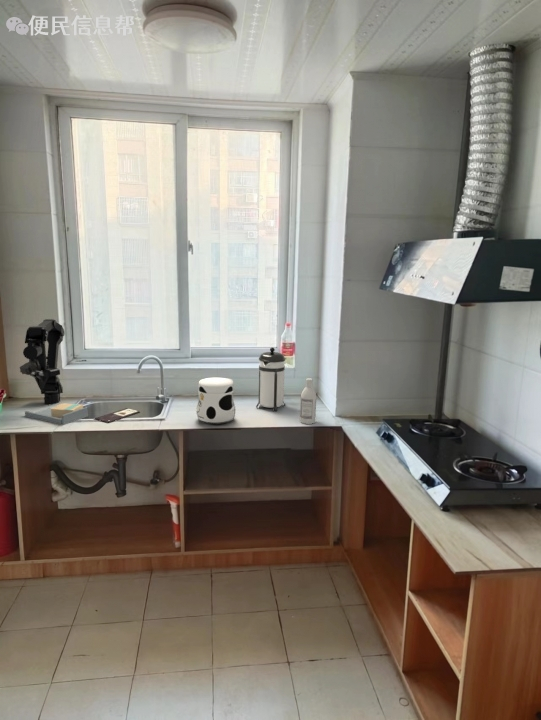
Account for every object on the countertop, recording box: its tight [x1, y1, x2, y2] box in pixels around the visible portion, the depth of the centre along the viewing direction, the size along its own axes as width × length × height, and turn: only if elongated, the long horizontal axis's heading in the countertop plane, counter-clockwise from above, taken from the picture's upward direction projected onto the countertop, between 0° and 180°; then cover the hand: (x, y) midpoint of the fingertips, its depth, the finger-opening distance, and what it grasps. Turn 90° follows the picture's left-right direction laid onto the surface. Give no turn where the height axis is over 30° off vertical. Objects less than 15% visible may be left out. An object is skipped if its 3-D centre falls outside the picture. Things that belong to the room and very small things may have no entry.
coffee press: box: [255, 347, 286, 412], centre depth 228 cm, size 17×16×30 cm
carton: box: [51, 402, 84, 419], centre depth 204 cm, size 8×10×5 cm
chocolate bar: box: [94, 407, 141, 424], centre depth 211 cm, size 9×1×18 cm
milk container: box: [196, 377, 236, 425], centre depth 207 cm, size 17×17×18 cm
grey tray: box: [24, 406, 89, 426], centre depth 204 cm, size 13×24×6 cm, turn 65°
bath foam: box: [299, 377, 317, 425], centre depth 208 cm, size 7×7×20 cm
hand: (41, 389), depth 208 cm, fingers closed
